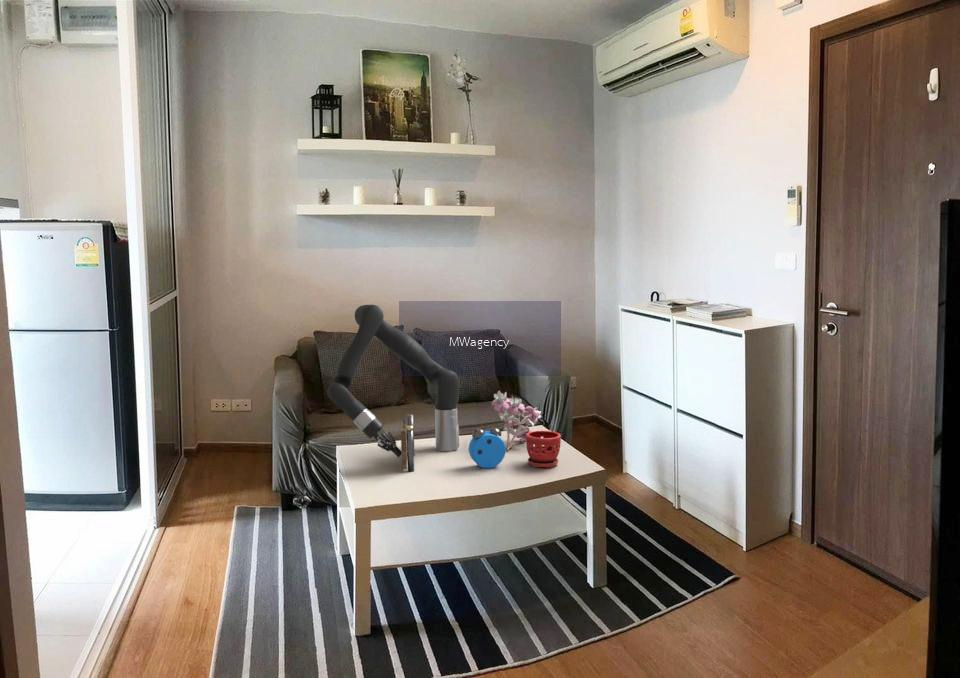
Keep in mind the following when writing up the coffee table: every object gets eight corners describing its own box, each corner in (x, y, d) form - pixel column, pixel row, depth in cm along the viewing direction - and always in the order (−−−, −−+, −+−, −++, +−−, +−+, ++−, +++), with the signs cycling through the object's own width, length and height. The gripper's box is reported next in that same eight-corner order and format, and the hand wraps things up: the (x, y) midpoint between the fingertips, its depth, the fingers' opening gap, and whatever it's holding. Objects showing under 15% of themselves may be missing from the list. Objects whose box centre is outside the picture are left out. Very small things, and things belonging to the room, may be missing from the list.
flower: (550, 448, 286) (547, 388, 294) (496, 447, 282) (495, 386, 290) (536, 457, 305) (533, 400, 313) (484, 455, 300) (484, 398, 308)
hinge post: (415, 455, 286) (414, 414, 284) (413, 457, 283) (412, 415, 281) (408, 455, 286) (407, 414, 284) (407, 457, 284) (406, 415, 281)
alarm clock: (501, 462, 275) (500, 424, 273) (506, 467, 269) (505, 428, 267) (468, 466, 271) (467, 427, 269) (473, 470, 266) (472, 431, 264)
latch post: (415, 469, 268) (414, 425, 266) (413, 472, 265) (412, 427, 263) (408, 469, 268) (406, 425, 266) (406, 472, 266) (404, 427, 263)
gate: (403, 455, 284) (402, 418, 282) (407, 455, 284) (406, 418, 282) (402, 470, 265) (400, 431, 263) (406, 469, 265) (405, 430, 263)
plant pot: (561, 469, 265) (561, 438, 264) (526, 469, 266) (526, 438, 264) (559, 459, 278) (559, 429, 277) (526, 459, 279) (525, 429, 277)
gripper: (370, 420, 261) (403, 454, 261) (379, 412, 274) (411, 443, 274) (356, 434, 262) (390, 467, 263) (366, 425, 275) (398, 456, 276)
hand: (400, 455), depth 269 cm, fingers closed
